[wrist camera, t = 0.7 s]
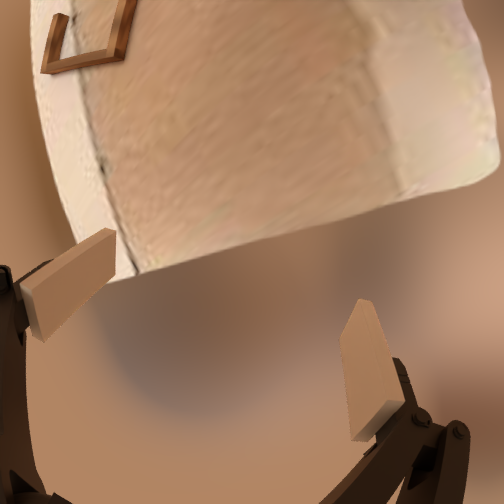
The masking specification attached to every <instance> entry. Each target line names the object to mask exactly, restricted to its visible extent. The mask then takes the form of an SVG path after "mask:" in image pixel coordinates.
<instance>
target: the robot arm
mask: <svg viewBox="0 0 504 504" xmlns="http://www.w3.org/2000/svg"><path fill="white" fill-rule="evenodd" d="M115 258H116V231H115V230H111V229H108V228H104V229H102V230H100V231H99V232H97V233H95V234H94V235H92V236H90V237H89V238H87V239H85V240H84V241H82V242H81V243H79V244H77V245H76V246H74V247H73V248H71V249H69V250H68V251H66V252H65V253H63V254H62V255H60V256H59V257H57V258H56V259H52V260H49V261H46V262H43V263H42V264H41V265H39V266H37V268H34V269H33V270H32V271H31V272H29V273H27V274H26V275H24V276H23V277H21V278H20V279H19V280H18V281H16V282H15V283H13V279H12V274H11V269H10V268H9V267H8V266H6V265H0V504H72V503H71V502H69V501H67V500H65V499H64V498H62V497H61V496H59V495H57V494H56V493H53V495H52V496H51V495H47V494H46V491H45V488H44V485H43V483H42V480H41V478H40V477H39V475H38V473H37V470H36V466H35V462H34V456H33V451H32V445H31V437H30V430H29V421H28V410H27V396H26V337H27V336H26V331H25V329H26V328H27V327H29V326H30V329H31V332H32V336H34V337H36V338H37V339H39V340H40V341H42V342H45V341H46V340H47V339H48V338H49V337H50V336H51V335H52V334H53V333H54V332H55V331H56V330H57V329H58V328H59V327H60V326H61V325H62V324H63V323H64V322H65V321H66V320H67V319H68V318H69V317H70V316H71V315H72V314H73V313H74V312H75V311H77V310H78V309H79V308H80V307H81V306H82V305H83V304H84V303H85V302H86V301H87V300H88V299H89V298H90V297H91V296H92V295H94V294H95V293H96V292H97V291H98V290H99V289H100V288H101V287H102V286H103V285H105V284H106V283H107V282H108V281H109V280H110V279H111V278H112V277H113V276H115ZM339 343H340V349H341V357H342V364H343V371H344V379H345V387H346V395H347V403H348V413H349V423H350V433H351V441H362V442H368V441H369V440H370V439H371V438H372V437H373V436H374V435H376V443H375V444H374V445H373V446H372V447H371V448H370V449H368V450H367V451H366V452H365V453H364V454H363V455H364V457H363V458H362V459H361V460H360V461H359V463H358V464H357V465H356V466H355V467H354V468H353V469H352V470H351V471H350V473H349V474H348V475H347V476H346V477H345V478H344V479H343V480H342V481H341V482H340V483H339V484H338V485H337V486H336V487H335V489H333V490H332V491H331V492H330V493H329V494H328V495H327V496H326V497H325V498H324V499H323V500H322V501H321V502H320V503H319V504H386V503H387V502H388V500H389V499H390V498H391V496H392V495H393V494H394V492H395V491H396V489H397V488H398V486H399V485H400V483H401V482H402V480H403V479H404V482H403V485H402V487H401V490H400V493H399V496H398V499H397V501H396V504H463V498H464V493H465V486H466V479H467V472H468V463H469V452H470V431H469V429H468V427H467V426H466V425H465V424H464V423H462V422H461V421H458V420H454V421H451V422H450V423H449V424H448V425H447V426H446V427H444V426H441V425H438V424H435V423H433V422H432V418H431V416H430V415H429V413H428V412H427V411H426V410H424V409H422V408H420V407H418V405H417V401H416V398H415V395H414V392H413V389H412V386H411V384H410V380H409V377H408V374H407V371H406V368H405V366H404V365H403V364H402V362H401V361H400V360H399V358H393V357H392V356H391V353H390V350H389V347H388V345H387V342H386V339H385V336H384V333H383V330H382V327H381V325H380V322H379V319H378V317H377V314H376V311H375V309H374V306H373V303H372V302H371V301H368V300H364V299H360V298H359V299H358V301H357V303H356V305H355V307H354V309H353V312H352V314H351V316H350V318H349V320H348V322H347V324H346V326H345V328H344V330H343V332H342V334H341V336H340V338H339ZM404 477H405V478H404Z"/></svg>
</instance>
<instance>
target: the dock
mask: <svg viewBox="0 0 504 504" xmlns="http://www.w3.org/2000/svg"><path fill="white" fill-rule="evenodd" d="M136 3H137V0H119V2H118V5H117V9H116V13H115V16H114V20H113V24H112V29H111V33H110V37H109V42H108V47H107V49H104V50H99V51H94V52H90V53H85V54H81V55H77V56H73V57H69V58H65V59H62V60H59V56H60V51H61V46H62V42H63V38H64V33H65V29H66V26H67V22H68V18H69V16H67V15H64V14H61V13H58V14H55V15H54V16H53V19H52V23H51V26H50V30H49V34H48V38H47V42H46V47H45V51H44V56H43V61H42V66H41V72H40V73H42V74H55V73H59V72H63V71H67V70H71V69H76V68H80V67H85V66H90V65H96V64H101V63H107V62H114V61H121V60H124V56H125V51H126V46H127V41H128V36H129V31H130V27H131V23H132V19H133V14H134V11H135V7H136Z"/></svg>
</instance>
